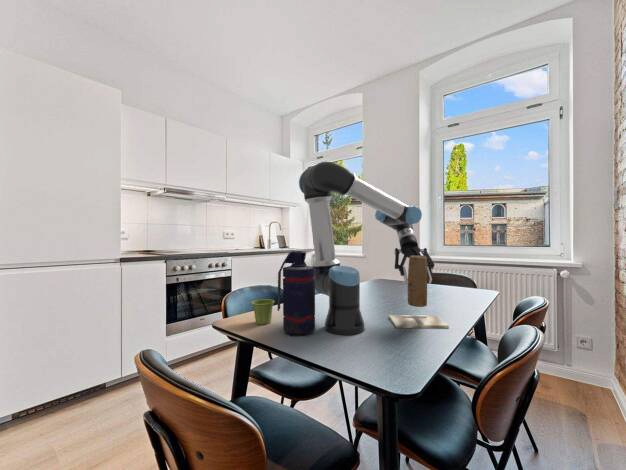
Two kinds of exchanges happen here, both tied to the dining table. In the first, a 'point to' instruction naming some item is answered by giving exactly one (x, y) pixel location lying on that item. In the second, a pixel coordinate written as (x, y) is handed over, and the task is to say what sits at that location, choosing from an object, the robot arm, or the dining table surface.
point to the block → (417, 281)
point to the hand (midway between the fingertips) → (418, 281)
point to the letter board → (417, 321)
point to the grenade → (297, 295)
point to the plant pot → (263, 310)
